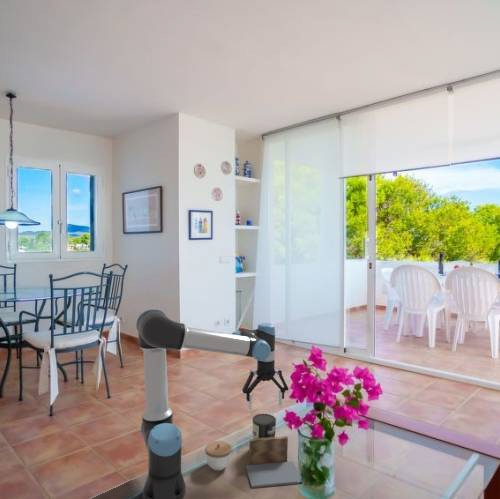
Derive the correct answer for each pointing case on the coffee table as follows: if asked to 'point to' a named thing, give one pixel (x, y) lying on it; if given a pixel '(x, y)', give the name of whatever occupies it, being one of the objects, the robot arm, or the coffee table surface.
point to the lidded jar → (218, 454)
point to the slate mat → (272, 474)
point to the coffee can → (264, 426)
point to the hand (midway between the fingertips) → (265, 407)
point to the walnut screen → (268, 450)
